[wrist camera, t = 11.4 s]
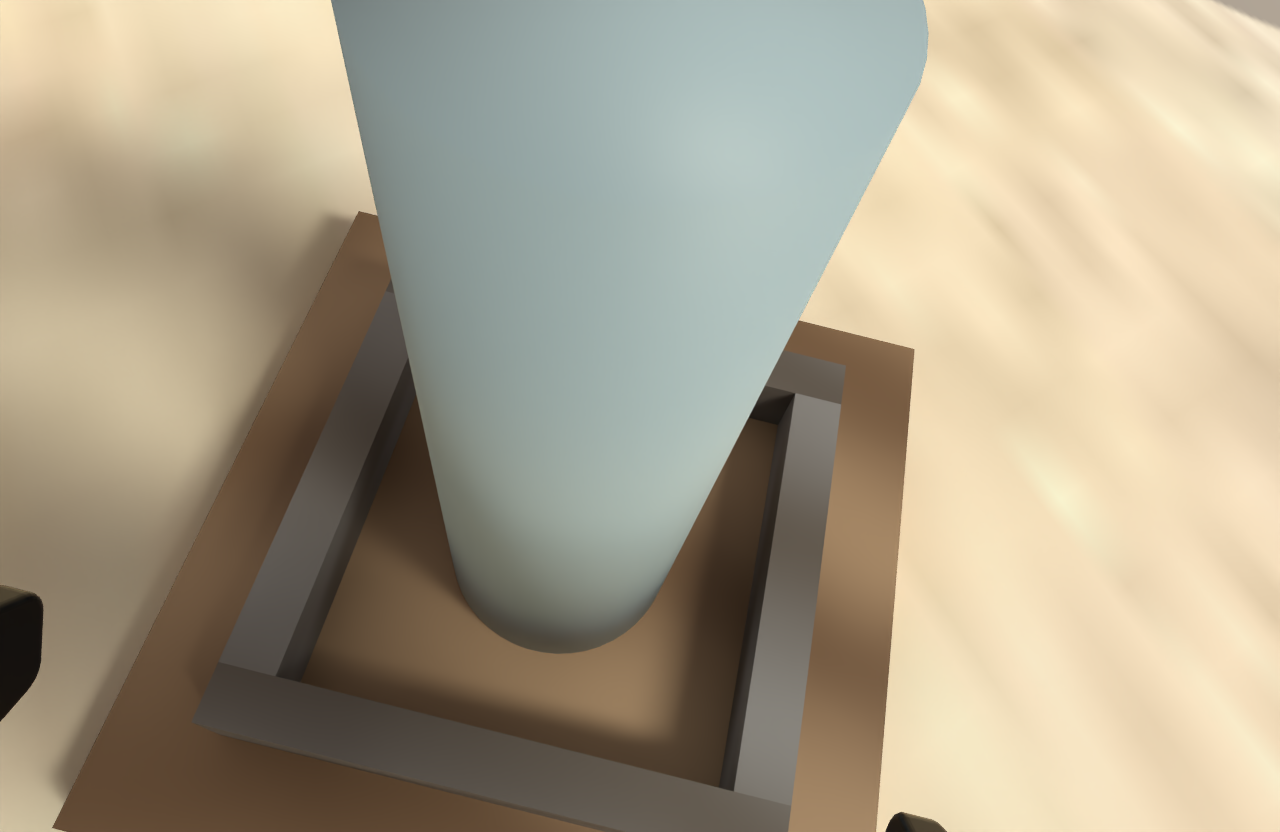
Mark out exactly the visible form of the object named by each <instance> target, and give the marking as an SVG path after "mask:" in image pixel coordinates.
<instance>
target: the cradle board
mask: <svg viewBox="0 0 1280 832" xmlns="http://www.w3.org/2000/svg"><path fill="white" fill-rule="evenodd" d="M913 361H914V349H911V348H907V347H903V346H899V345H895V344H891V343H887V342H883V341H879V340H875V339H871V338H867V337H863V336H859V335H855V334H851V333H847V332H843V331H839V330H835V329H831V328H827V327H823V326H819V325H815V324H811V323H807V322H803V321H799V320H798V322H797V324H796V326H795V328H794V330H793V332H792V334H791V336H790V338H789V340H788V342H787V344H786V346H785V348H784V349H783V351H782V353H781V355H780V357H779V359H778V361H777V363H776V365H775V367H774V369H773V371H772V373H771V375H770V377H769V379H768V381H767V382H766V384H765V386H764V388H763V390H762V392H761V394H760V396H759V398H758V400H757V402H756V404H755V406H754V408H753V410H752V412H751V413H750V415H749V417H748V419H747V421H746V423H745V425H744V427H743V429H742V431H741V433H740V435H739V437H738V439H737V441H736V443H735V445H734V446H733V448H732V450H731V452H730V454H729V456H728V458H727V460H726V462H725V464H724V466H723V468H722V470H721V472H720V474H719V476H718V478H717V479H716V481H715V483H714V485H713V487H712V489H711V491H710V493H709V495H708V497H707V499H706V501H705V503H704V505H703V507H702V509H701V511H700V512H699V514H698V516H697V518H696V520H695V522H694V524H693V526H692V528H691V530H690V532H689V534H688V536H687V538H686V540H685V542H684V544H683V545H682V547H681V549H680V551H679V553H678V555H677V557H676V559H675V561H674V563H673V565H672V567H671V569H670V571H669V573H668V575H667V577H666V578H665V580H664V582H663V584H662V586H661V588H660V590H659V592H658V594H657V596H656V598H655V600H654V602H653V603H652V605H651V606H650V608H649V609H648V610H647V612H646V613H645V614H644V616H643V617H642V618H641V619H640V620H639V621H638V622H637V623H636V624H635V625H634V626H633V627H631V628H630V629H629V630H628V631H627V632H626V633H624V634H622V635H621V636H619V637H618V638H616V639H615V640H613V641H611V642H609V643H606V644H604V645H602V646H600V647H597V648H593V649H590V650H587V651H582V652H576V653H564V654H554V653H544V652H538V651H534V650H530V649H526V648H523V647H521V646H518V645H516V644H513V643H511V642H509V641H508V640H506V639H504V638H502V637H500V636H499V635H498V634H496V633H495V632H494V631H492V630H491V629H489V628H488V627H487V626H486V625H485V624H484V623H483V622H482V621H481V620H480V619H479V618H478V617H477V615H476V614H475V613H474V612H473V610H472V609H471V608H470V606H469V605H468V603H467V601H466V599H465V598H464V596H463V594H462V592H461V589H460V587H459V584H458V582H457V578H456V574H455V570H454V565H453V561H452V556H451V552H450V547H449V542H448V538H447V533H446V528H445V524H444V519H443V515H442V510H441V505H440V501H439V496H438V492H437V487H436V482H435V478H434V473H433V468H432V464H431V459H430V455H429V450H428V445H427V441H426V436H425V432H424V427H423V422H422V418H421V413H420V408H419V404H418V399H417V395H416V390H415V385H414V381H413V376H412V372H411V367H410V362H409V358H408V353H407V348H406V344H405V339H404V335H403V330H402V325H401V321H400V316H399V311H398V307H397V302H396V298H395V293H394V288H393V284H392V279H391V275H390V270H389V265H388V261H387V256H386V251H385V247H384V242H383V238H382V233H381V228H380V224H379V219H378V216H376V215H372V214H368V213H364V212H360V211H359V212H358V214H357V216H356V218H355V220H354V222H353V224H352V226H351V228H350V230H349V232H348V234H347V236H346V238H345V240H344V242H343V244H342V246H341V248H340V250H339V252H338V254H337V256H336V258H335V260H334V262H333V264H332V266H331V268H330V270H329V272H328V274H327V276H326V278H325V280H324V282H323V284H322V286H321V288H320V290H319V292H318V295H317V297H316V299H315V301H314V303H313V305H312V307H311V309H310V311H309V313H308V315H307V317H306V319H305V321H304V323H303V325H302V327H301V329H300V331H299V333H298V335H297V337H296V339H295V341H294V343H293V345H292V347H291V349H290V351H289V353H288V355H287V357H286V359H285V361H284V363H283V365H282V367H281V369H280V371H279V373H278V375H277V377H276V379H275V381H274V383H273V385H272V387H271V389H270V391H269V393H268V395H267V397H266V399H265V401H264V403H263V405H262V407H261V409H260V411H259V413H258V415H257V417H256V419H255V421H254V423H253V425H252V427H251V429H250V431H249V433H248V435H247V437H246V439H245V441H244V443H243V445H242V447H241V449H240V451H239V453H238V455H237V457H236V459H235V461H234V463H233V465H232V467H231V469H230V471H229V473H228V475H227V478H226V480H225V482H224V484H223V486H222V488H221V490H220V492H219V494H218V496H217V498H216V500H215V502H214V504H213V506H212V508H211V510H210V512H209V514H208V516H207V518H206V520H205V522H204V524H203V526H202V528H201V530H200V532H199V534H198V536H197V538H196V540H195V542H194V544H193V546H192V548H191V550H190V552H189V554H188V556H187V558H186V560H185V562H184V564H183V566H182V568H181V570H180V572H179V574H178V576H177V578H176V580H175V582H174V584H173V586H172V588H171V590H170V592H169V594H168V596H167V598H166V600H165V602H164V604H163V606H162V608H161V610H160V612H159V614H158V616H157V618H156V620H155V622H154V624H153V626H152V628H151V630H150V632H149V634H148V636H147V638H146V640H145V642H144V644H143V646H142V648H141V650H140V652H139V654H138V656H137V659H136V661H135V663H134V665H133V667H132V669H131V671H130V673H129V675H128V677H127V679H126V681H125V683H124V685H123V687H122V689H121V691H120V693H119V695H118V697H117V699H116V701H115V703H114V705H113V707H112V709H111V711H110V713H109V715H108V717H107V719H106V721H105V723H104V725H103V727H102V729H101V731H100V733H99V735H98V737H97V739H96V741H95V743H94V745H93V747H92V749H91V751H90V753H89V755H88V757H87V759H86V761H85V763H84V765H83V767H82V769H81V771H80V773H79V775H78V777H77V779H76V781H75V783H74V785H73V787H72V789H71V791H70V793H69V795H68V797H67V799H66V801H65V803H64V805H63V807H62V809H61V811H60V813H59V815H58V817H57V819H56V821H55V823H54V825H53V827H52V828H55V829H59V830H62V831H66V832H876V825H877V812H878V800H879V787H880V774H881V762H882V749H883V737H884V724H885V712H886V699H887V687H888V674H889V662H890V649H891V637H892V624H893V611H894V599H895V586H896V574H897V561H898V549H899V536H900V524H901V511H902V499H903V486H904V474H905V461H906V449H907V436H908V423H909V411H910V398H911V386H912V373H913Z"/></svg>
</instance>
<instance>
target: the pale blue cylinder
mask: <svg viewBox="0 0 1280 832" xmlns="http://www.w3.org/2000/svg"><path fill="white" fill-rule="evenodd" d="M331 2H332V7H333V11H334V16H335V21H336V25H337V30H338V35H339V39H340V44H341V48H342V53H343V58H344V62H345V67H346V71H347V76H348V81H349V85H350V90H351V95H352V99H353V104H354V108H355V113H356V118H357V122H358V127H359V131H360V136H361V141H362V145H363V150H364V155H365V159H366V164H367V168H368V173H369V178H370V182H371V187H372V191H373V196H374V201H375V205H376V210H377V215H378V219H379V224H380V228H381V233H382V238H383V242H384V247H385V251H386V256H387V261H388V265H389V270H390V275H391V279H392V284H393V288H394V293H395V298H396V302H397V307H398V311H399V316H400V321H401V325H402V330H403V335H404V339H405V344H406V348H407V353H408V358H409V362H410V367H411V372H412V376H413V381H414V385H415V390H416V395H417V399H418V404H419V408H420V413H421V418H422V422H423V427H424V432H425V436H426V441H427V445H428V450H429V455H430V459H431V464H432V468H433V473H434V478H435V482H436V487H437V492H438V496H439V501H440V505H441V510H442V515H443V519H444V524H445V528H446V533H447V538H448V542H449V547H450V552H451V556H452V561H453V565H454V570H455V574H456V578H457V582H458V584H459V587H460V589H461V592H462V594H463V596H464V598H465V599H466V601H467V603H468V605H469V606H470V608H471V609H472V610H473V612H474V613H475V614H476V615H477V617H478V618H479V619H480V620H481V621H482V622H483V623H484V624H485V625H486V626H487V627H488V628H489V629H491V630H492V631H494V632H495V633H496V634H498V635H499V636H500V637H502V638H504V639H506V640H508V641H509V642H511V643H513V644H516V645H518V646H521V647H523V648H526V649H530V650H534V651H538V652H544V653H554V654H564V653H576V652H582V651H587V650H590V649H593V648H597V647H600V646H602V645H604V644H606V643H609V642H611V641H613V640H615V639H616V638H618V637H619V636H621V635H622V634H624V633H626V632H627V631H628V630H629V629H630V628H631V627H633V626H634V625H635V624H636V623H637V622H638V621H639V620H640V619H641V618H642V617H643V616H644V614H645V613H646V612H647V610H648V609H649V608H650V606H651V605H652V603H653V602H654V600H655V598H656V596H657V594H658V592H659V590H660V588H661V586H662V584H663V582H664V580H665V578H666V577H667V575H668V573H669V571H670V569H671V567H672V565H673V563H674V561H675V559H676V557H677V555H678V553H679V551H680V549H681V547H682V545H683V544H684V542H685V540H686V538H687V536H688V534H689V532H690V530H691V528H692V526H693V524H694V522H695V520H696V518H697V516H698V514H699V512H700V511H701V509H702V507H703V505H704V503H705V501H706V499H707V497H708V495H709V493H710V491H711V489H712V487H713V485H714V483H715V481H716V479H717V478H718V476H719V474H720V472H721V470H722V468H723V466H724V464H725V462H726V460H727V458H728V456H729V454H730V452H731V450H732V448H733V446H734V445H735V443H736V441H737V439H738V437H739V435H740V433H741V431H742V429H743V427H744V425H745V423H746V421H747V419H748V417H749V415H750V413H751V412H752V410H753V408H754V406H755V404H756V402H757V400H758V398H759V396H760V394H761V392H762V390H763V388H764V386H765V384H766V382H767V381H768V379H769V377H770V375H771V373H772V371H773V369H774V367H775V365H776V363H777V361H778V359H779V357H780V355H781V353H782V351H783V349H784V348H785V346H786V344H787V342H788V340H789V338H790V336H791V334H792V332H793V330H794V328H795V326H796V324H797V322H798V320H799V318H800V316H801V315H802V313H803V311H804V309H805V307H806V305H807V303H808V301H809V299H810V297H811V295H812V293H813V291H814V289H815V287H816V285H817V283H818V282H819V280H820V278H821V276H822V274H823V272H824V270H825V268H826V266H827V264H828V262H829V260H830V258H831V256H832V254H833V252H834V250H835V249H836V247H837V245H838V243H839V241H840V239H841V237H842V235H843V233H844V231H845V229H846V227H847V225H848V223H849V221H850V219H851V217H852V216H853V214H854V212H855V210H856V208H857V206H858V204H859V202H860V200H861V198H862V196H863V194H864V192H865V190H866V188H867V186H868V185H869V183H870V181H871V179H872V177H873V175H874V173H875V171H876V169H877V167H878V165H879V163H880V161H881V159H882V157H883V155H884V153H885V152H886V150H887V148H888V146H889V144H890V142H891V140H892V138H893V136H894V134H895V132H896V130H897V128H898V126H899V124H900V122H901V120H902V119H903V117H904V115H905V113H906V111H907V109H908V107H909V105H910V103H911V101H912V99H913V97H914V95H915V93H916V91H917V89H918V87H919V85H920V82H921V78H922V74H923V71H924V67H925V63H926V60H927V47H928V26H927V18H926V10H925V5H924V2H923V0H331Z"/></svg>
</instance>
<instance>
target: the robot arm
mask: <svg viewBox="0 0 1280 832" xmlns="http://www.w3.org/2000/svg"><path fill="white" fill-rule="evenodd" d="M42 628H43V603H42V601H41V599H40V597H39V596H37V595H36V594H35V593H32V592H28V591H24V590H20V589H16V588H12V587H8V586H4V585H0V721H1V720H2V719H3V718H4V717H5V716H6V714H7V713H8V712H9V711H10V710H11V709H12V708H13V706H14V705H15V704H16V703H17V702H18V701H19V700H20V698H21V697H22V696H23V695H24V694H25V693H26V692H27V690H28V689H29V688H30V686H31V685H32V683H33V682H34V680H35V678H36V676H37V674H38V671H39V668H40V663H41V649H42ZM886 832H947V831H946V830H945V829H944V828H943V827H942V826H941V825H940V824H939V823H938V822H936V821H934V820H932V819H928V818H924V817H920V816H916V815H912V814H908V813H904V812H900V813H897V814H895V815H894V816H893V817H892V819H891V820H890V822H889V824H888V827H887V829H886Z"/></svg>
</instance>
